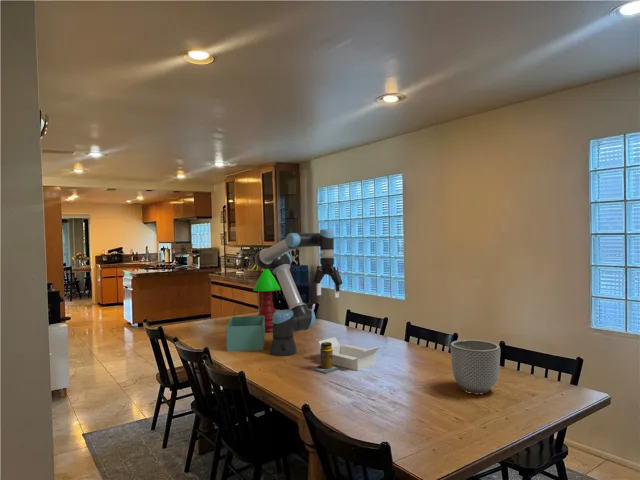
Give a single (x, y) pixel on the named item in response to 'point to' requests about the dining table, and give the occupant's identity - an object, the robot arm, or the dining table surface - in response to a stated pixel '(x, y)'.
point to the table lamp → (267, 297)
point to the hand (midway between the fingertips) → (327, 296)
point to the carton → (352, 355)
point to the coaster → (325, 370)
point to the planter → (475, 364)
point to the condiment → (326, 356)
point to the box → (245, 333)
